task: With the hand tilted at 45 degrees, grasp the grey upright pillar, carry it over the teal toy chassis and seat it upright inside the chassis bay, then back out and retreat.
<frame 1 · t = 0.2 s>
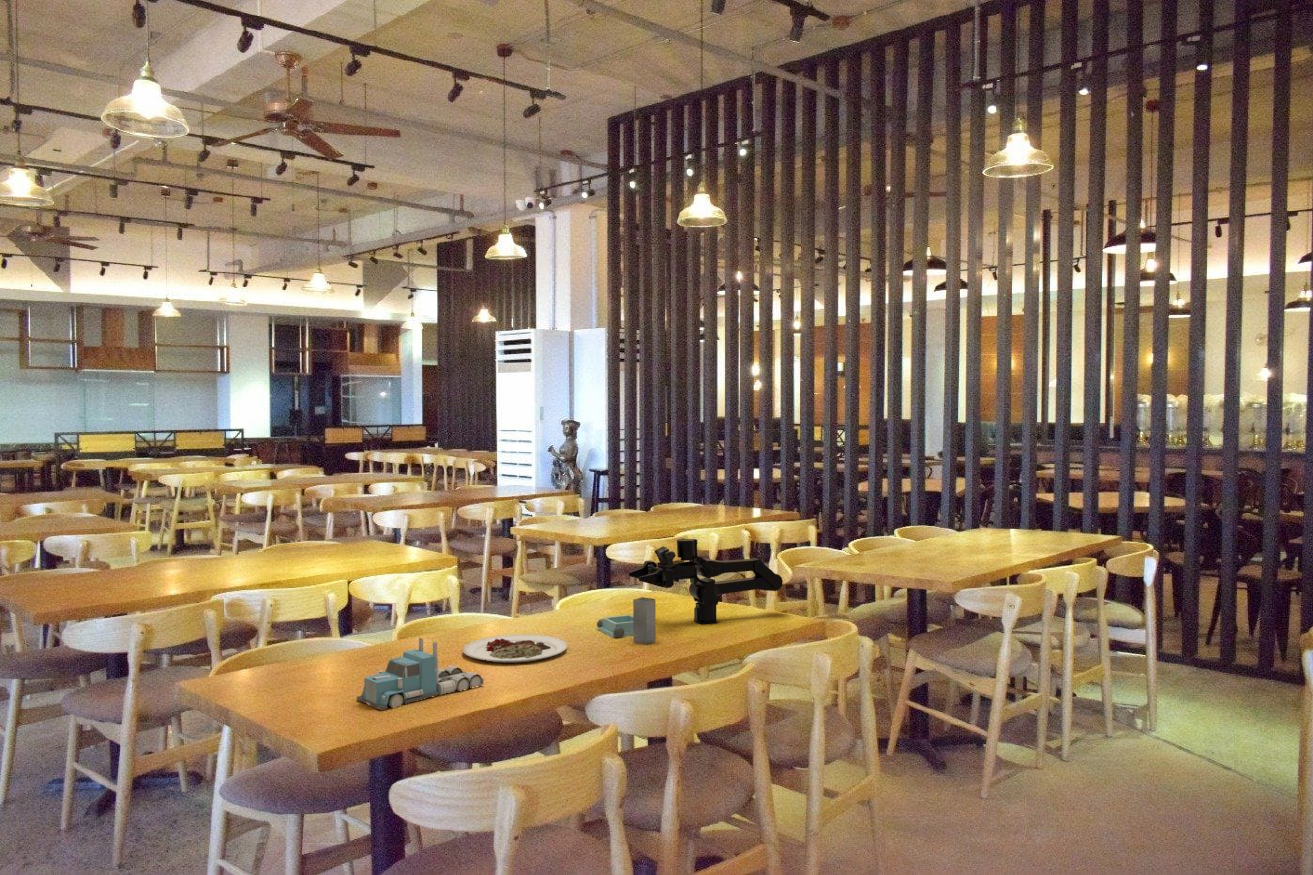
hand: (633, 576, 307), 17 cm above the table, tool horizontal, fingers open, 9 cm apart
truck: (421, 695, 238), on the table
plated food: (515, 653, 279), on the table
grey upright pillar: (644, 642, 290), on the table
chassis: (623, 631, 303), on the table
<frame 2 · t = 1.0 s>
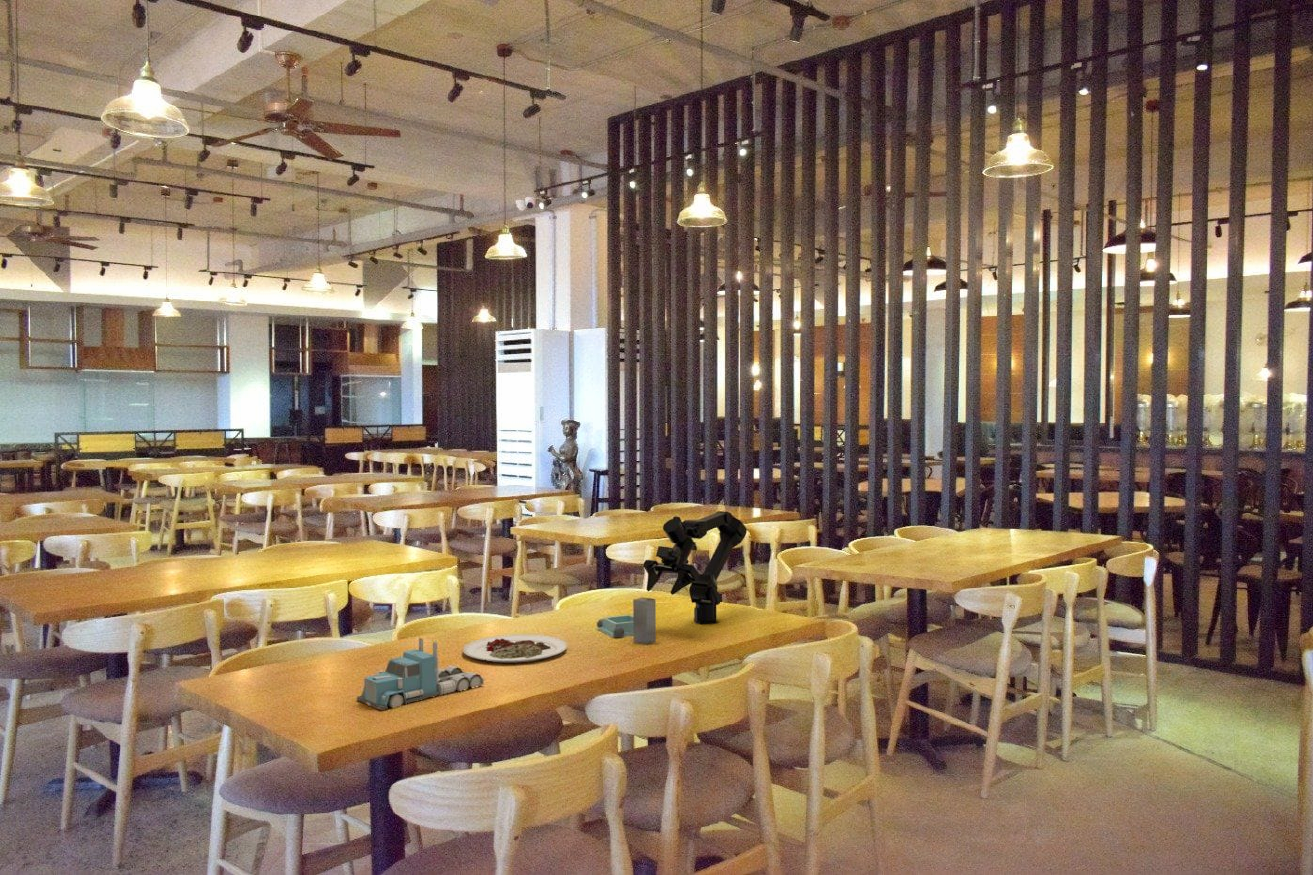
hand: (659, 592, 296), 14 cm above the table, tool tilted 45°, fingers open, 9 cm apart
nothing on the table moved.
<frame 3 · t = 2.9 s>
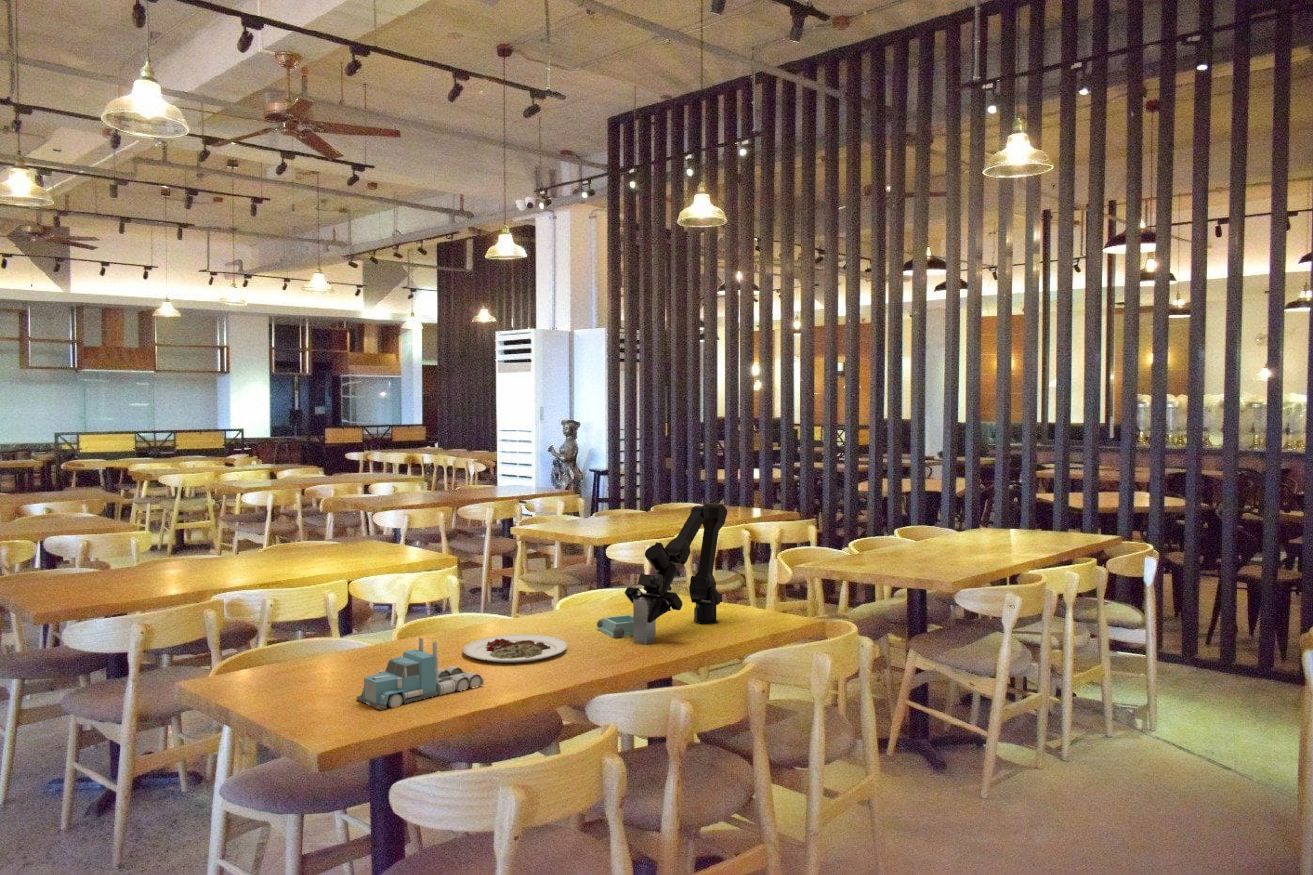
hand: (641, 621, 289), 7 cm above the table, tool tilted 45°, fingers closed on grey upright pillar, 5 cm apart
grey upright pillar: (644, 642, 290), on the table, touching gripper
everything else where it was.
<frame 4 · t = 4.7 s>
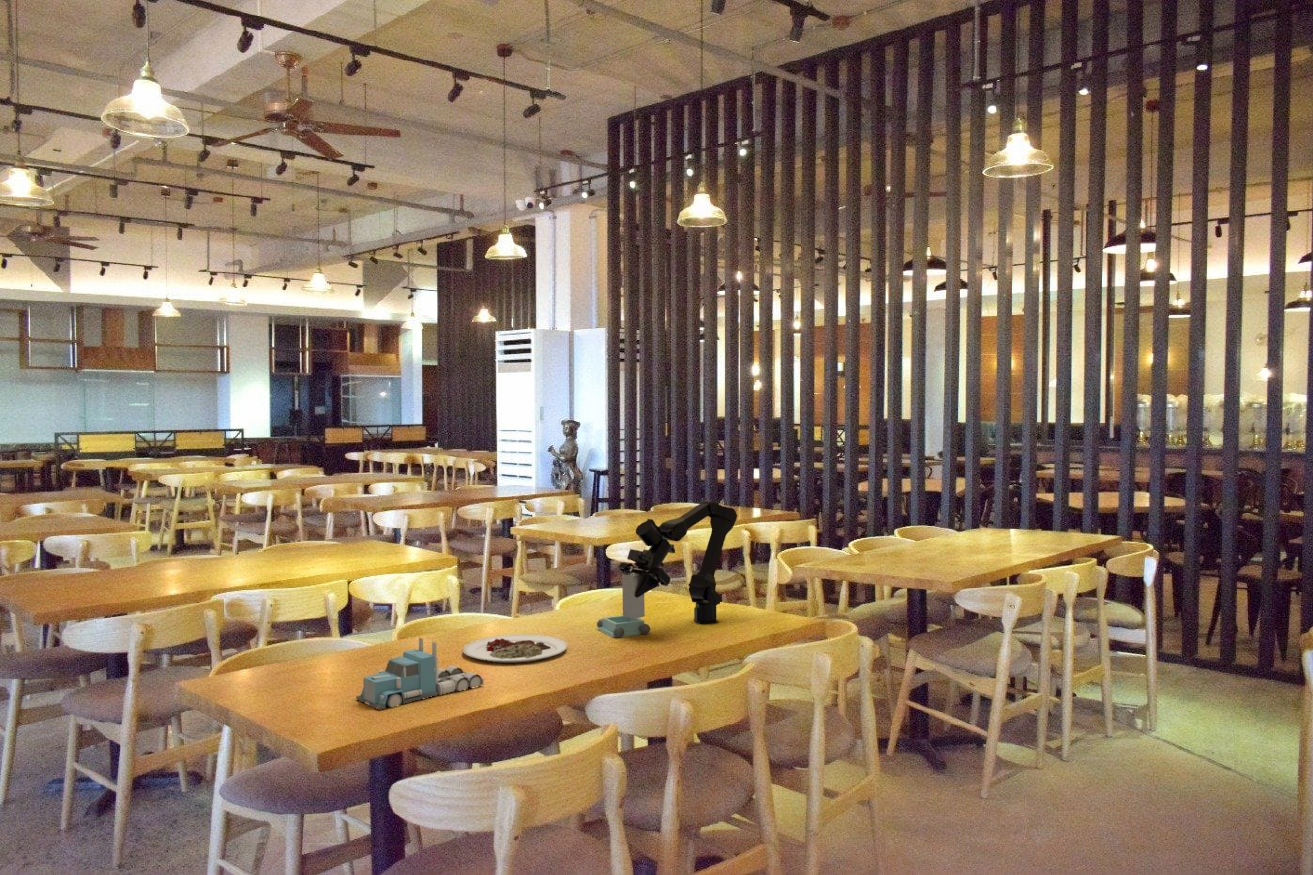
hand: (630, 595, 294), 13 cm above the table, tool tilted 45°, fingers closed on grey upright pillar, 5 cm apart
grey upright pillar: (633, 616, 295), point 7 cm above the table, touching gripper
everything else where it was.
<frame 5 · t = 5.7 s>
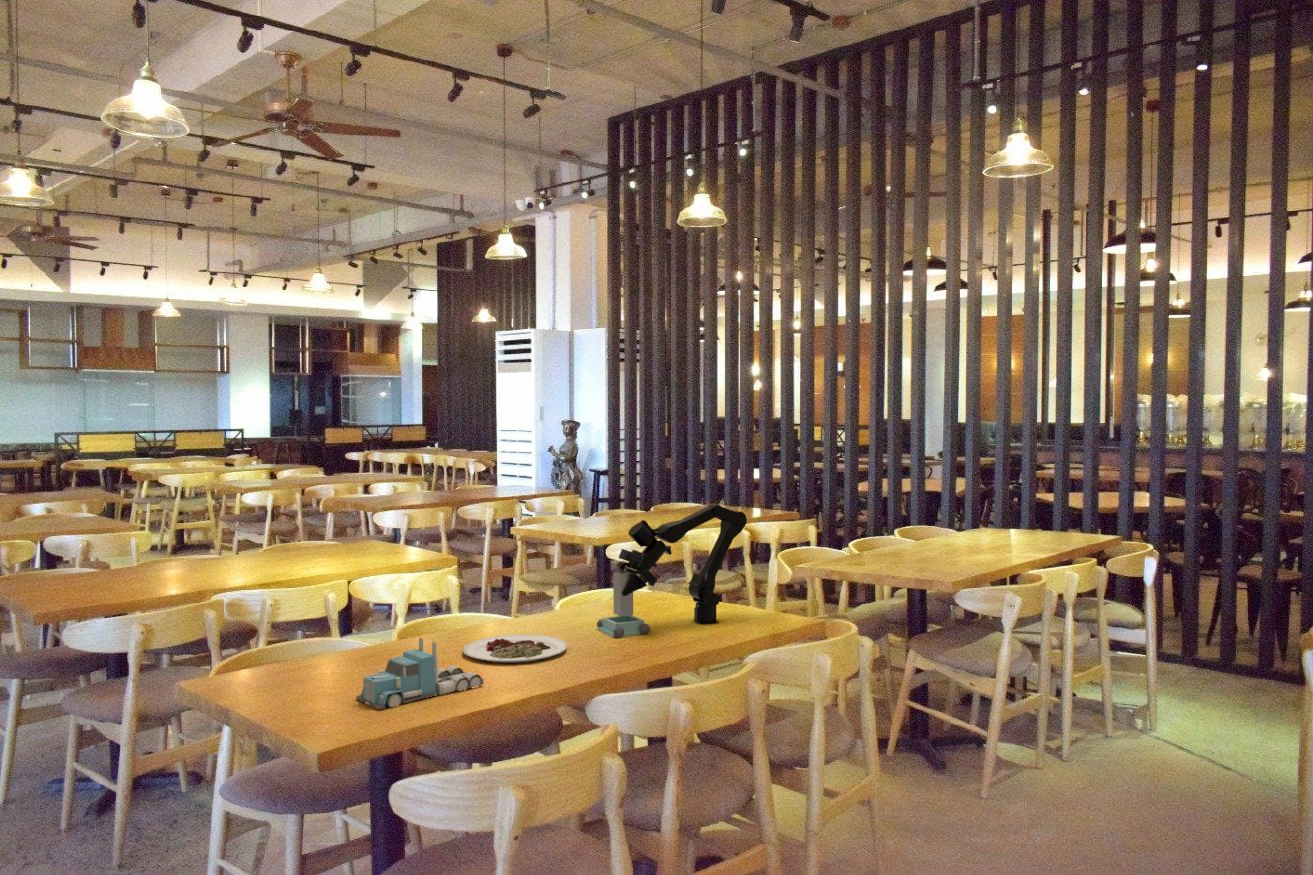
hand: (619, 593, 302), 12 cm above the table, tool tilted 45°, fingers closed on grey upright pillar, 5 cm apart
grey upright pillar: (623, 614, 303), point 6 cm above the table, touching gripper
everything else where it was.
when the fingers open (9 cm above the table, at t = 6.6 s): grey upright pillar drops 1 cm, resting on chassis.
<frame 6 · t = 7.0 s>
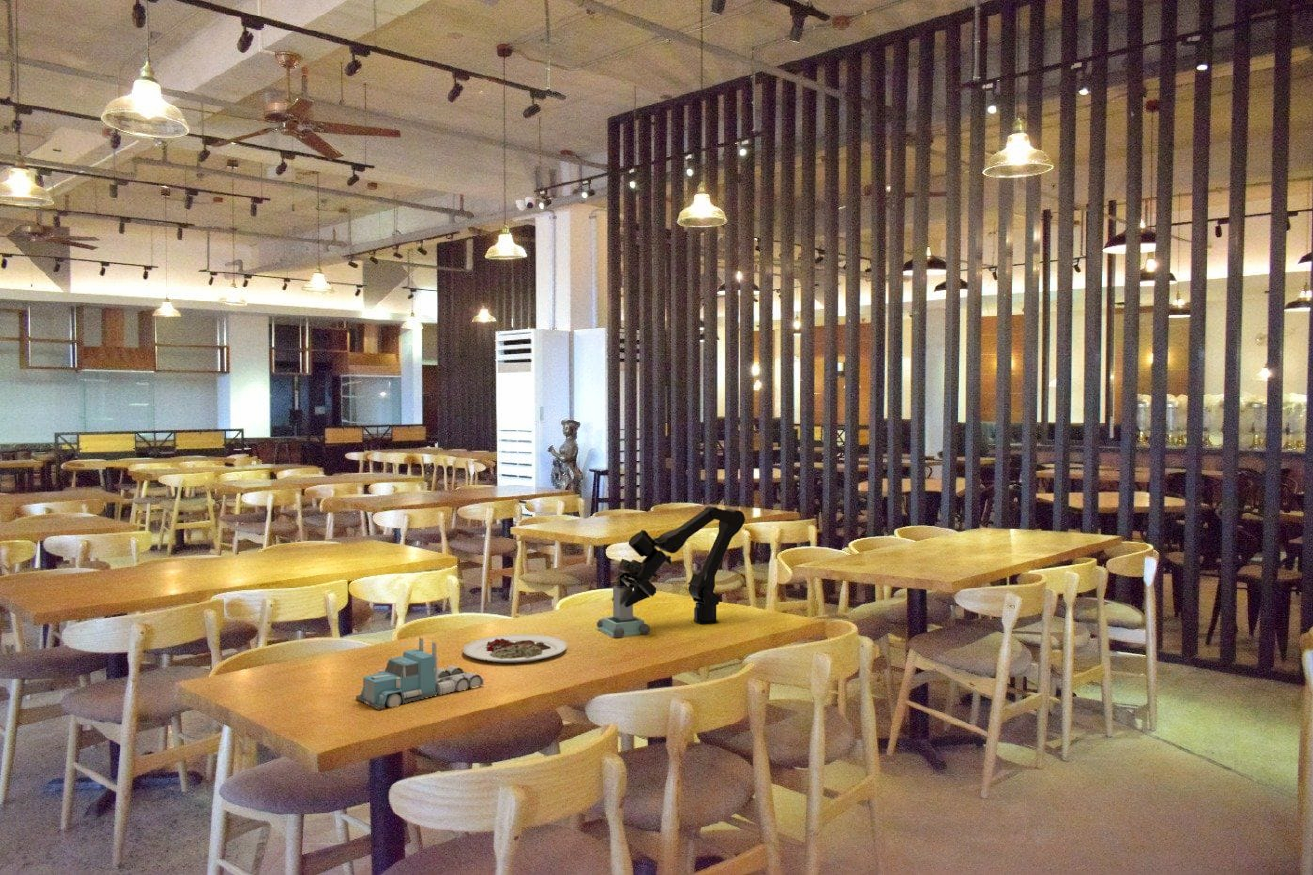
hand: (619, 603, 302), 9 cm above the table, tool tilted 45°, fingers open, 9 cm apart
grey upright pillar: (623, 628, 303), point 1 cm above the table, touching chassis
everything else where it was.
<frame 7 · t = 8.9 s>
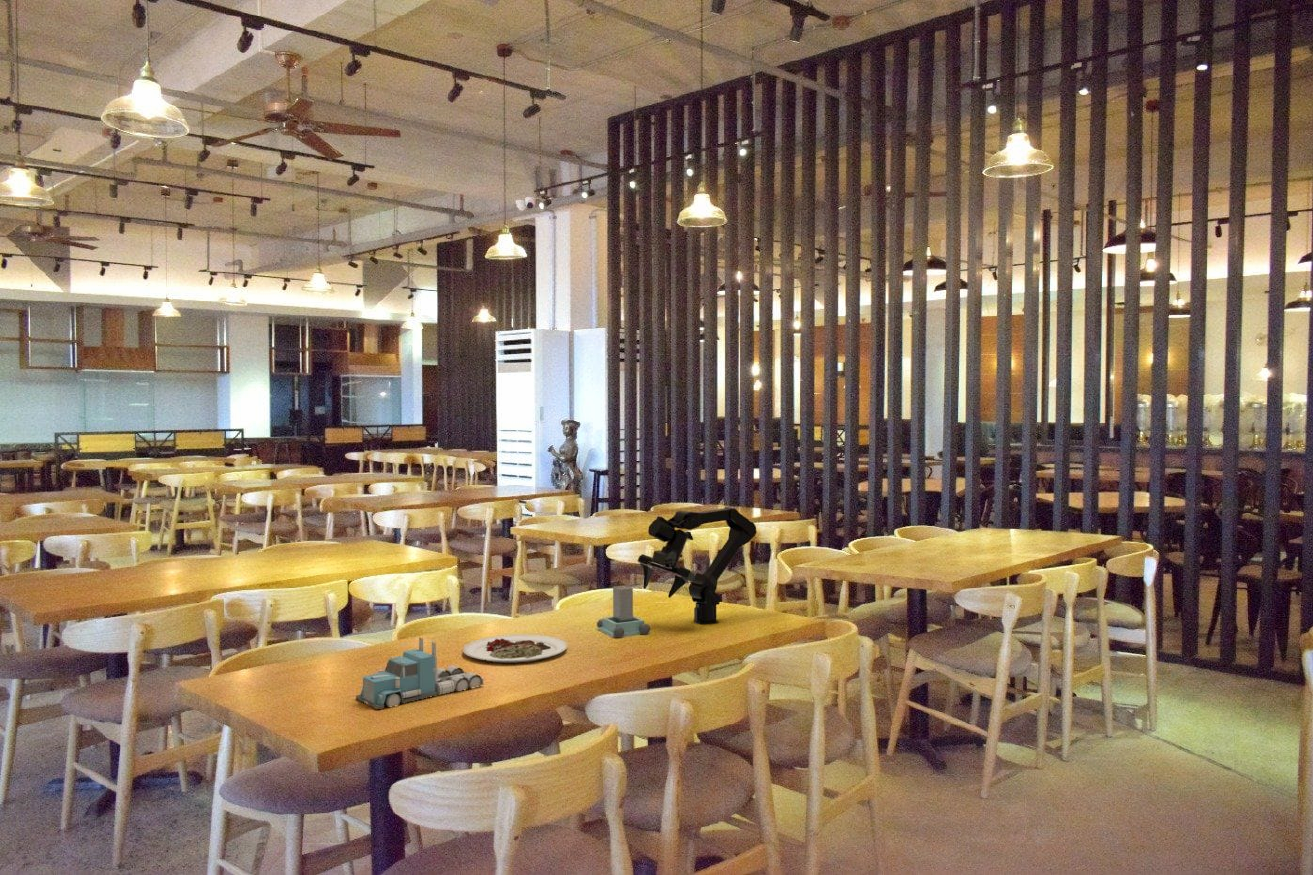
hand: (656, 593, 305), 12 cm above the table, tool tilted 25°, fingers open, 9 cm apart
nothing on the table moved.
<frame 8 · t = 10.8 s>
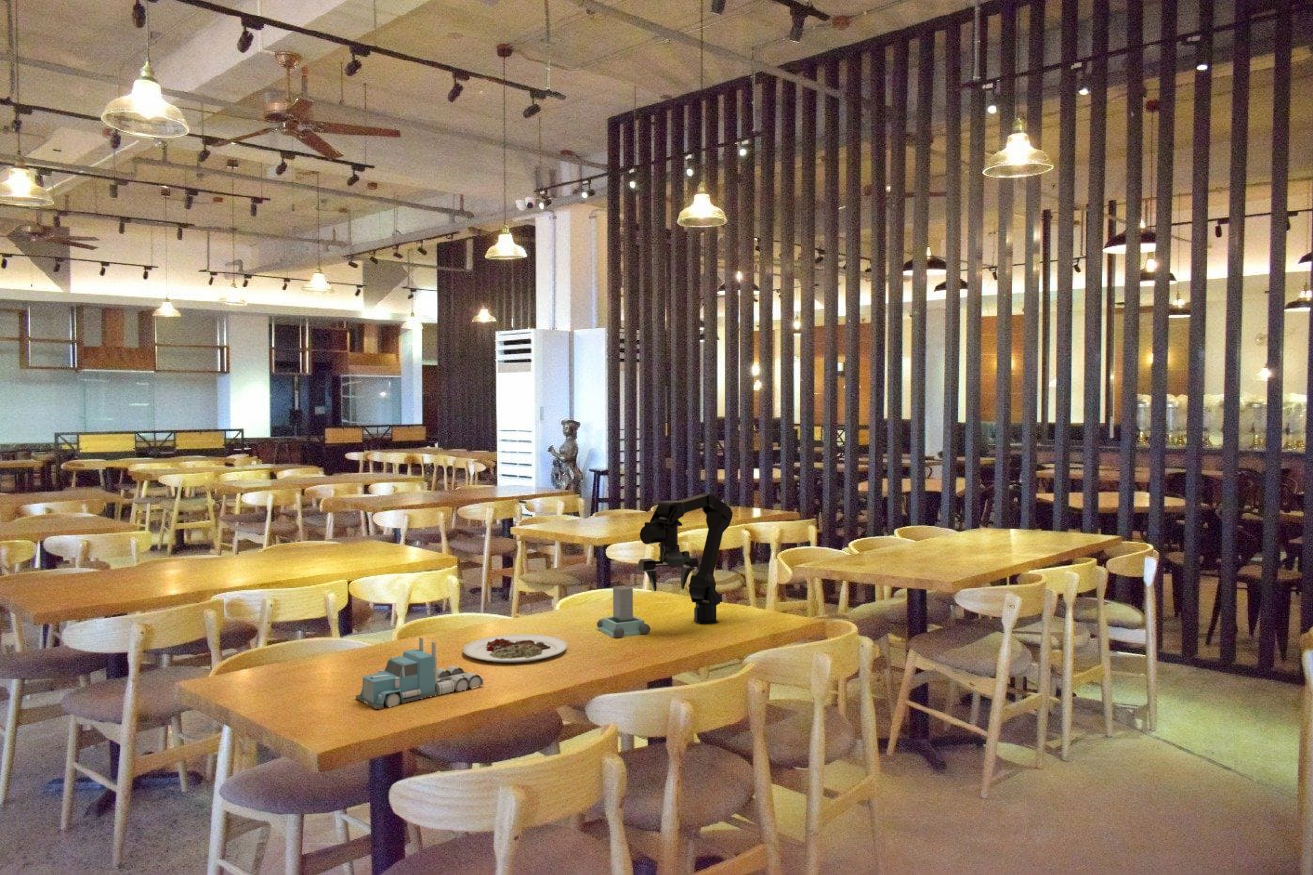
hand: (668, 590, 304), 13 cm above the table, tool pointing down, fingers open, 9 cm apart
nothing on the table moved.
at the end: grey upright pillar 0.0 cm off-centre on the chassis, point 1.0 cm above the chassis's base; grey upright pillar tilted 0°; the gripper is holding nothing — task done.
